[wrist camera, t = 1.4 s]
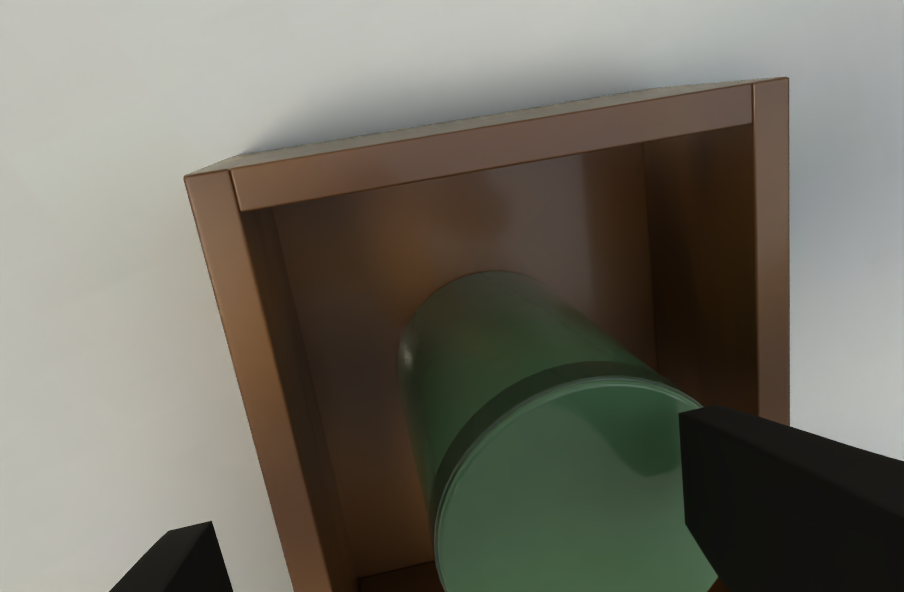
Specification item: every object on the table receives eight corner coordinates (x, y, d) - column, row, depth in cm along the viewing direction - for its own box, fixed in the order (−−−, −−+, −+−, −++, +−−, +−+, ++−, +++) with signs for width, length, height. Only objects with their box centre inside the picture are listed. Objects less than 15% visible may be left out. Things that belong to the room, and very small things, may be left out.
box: (232, 156, 17) (181, 176, 11) (653, 88, 18) (790, 76, 13) (337, 588, 21) (337, 758, 15) (677, 504, 22) (791, 632, 17)
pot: (592, 429, 20) (750, 622, 12) (411, 470, 19) (461, 701, 12) (574, 251, 18) (744, 347, 11) (376, 289, 18) (408, 420, 10)
